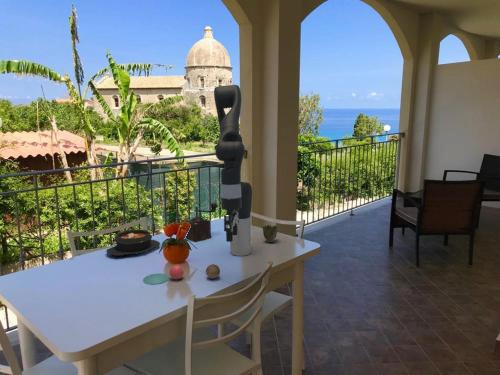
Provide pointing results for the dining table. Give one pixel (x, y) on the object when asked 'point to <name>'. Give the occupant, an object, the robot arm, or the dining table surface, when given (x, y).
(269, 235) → the cup
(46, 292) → the dining table surface
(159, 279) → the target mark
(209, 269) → the brown ball
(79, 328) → the dining table surface
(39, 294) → the dining table surface
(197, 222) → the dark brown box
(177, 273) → the object ball
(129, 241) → the casserole
